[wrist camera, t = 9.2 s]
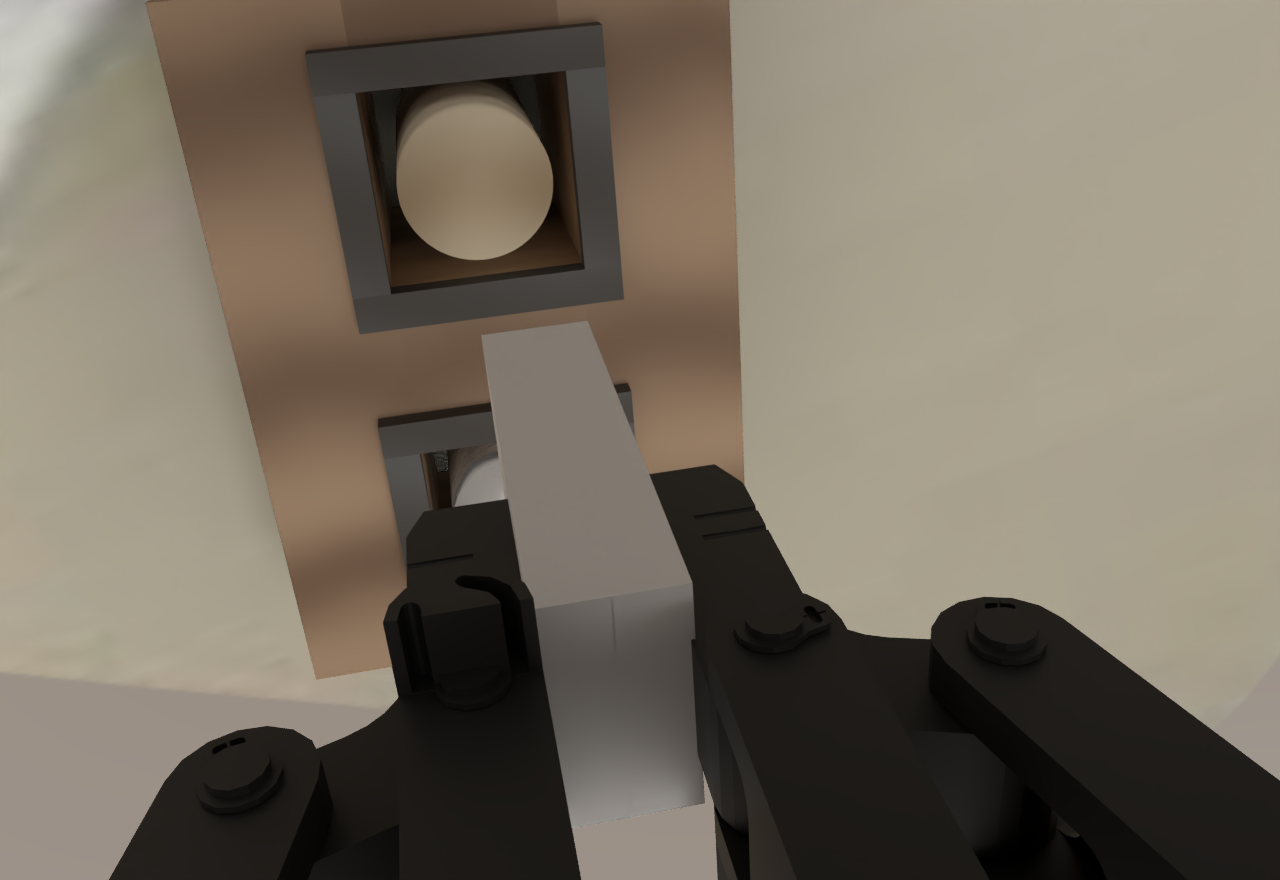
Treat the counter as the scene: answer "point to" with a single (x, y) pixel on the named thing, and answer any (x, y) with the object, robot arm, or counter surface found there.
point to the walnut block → (439, 283)
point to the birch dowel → (470, 168)
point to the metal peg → (475, 475)
